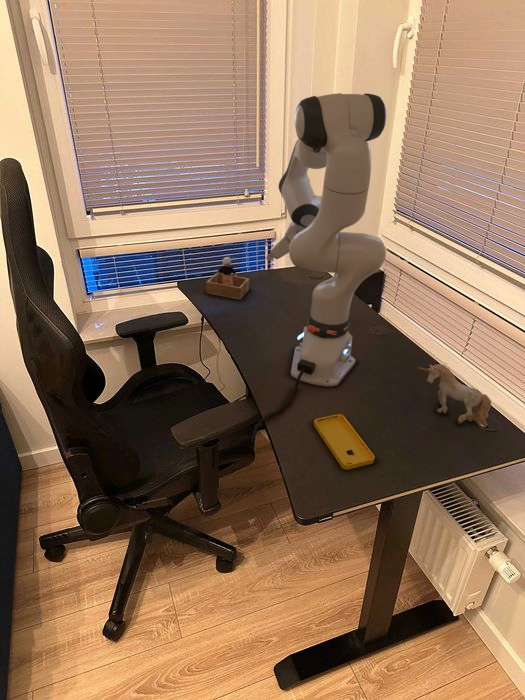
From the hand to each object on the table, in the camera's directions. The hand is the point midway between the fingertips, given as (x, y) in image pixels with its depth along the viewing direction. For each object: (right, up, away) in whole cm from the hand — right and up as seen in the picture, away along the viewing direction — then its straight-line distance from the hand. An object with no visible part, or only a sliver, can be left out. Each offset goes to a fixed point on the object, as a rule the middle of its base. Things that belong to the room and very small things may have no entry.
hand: (272, 254), depth 176 cm
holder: (-16, -11, +14) cm, 25 cm away
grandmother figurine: (-17, -10, +15) cm, 25 cm away
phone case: (+16, -56, -55) cm, 80 cm away
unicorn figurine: (+44, -51, -46) cm, 82 cm away
